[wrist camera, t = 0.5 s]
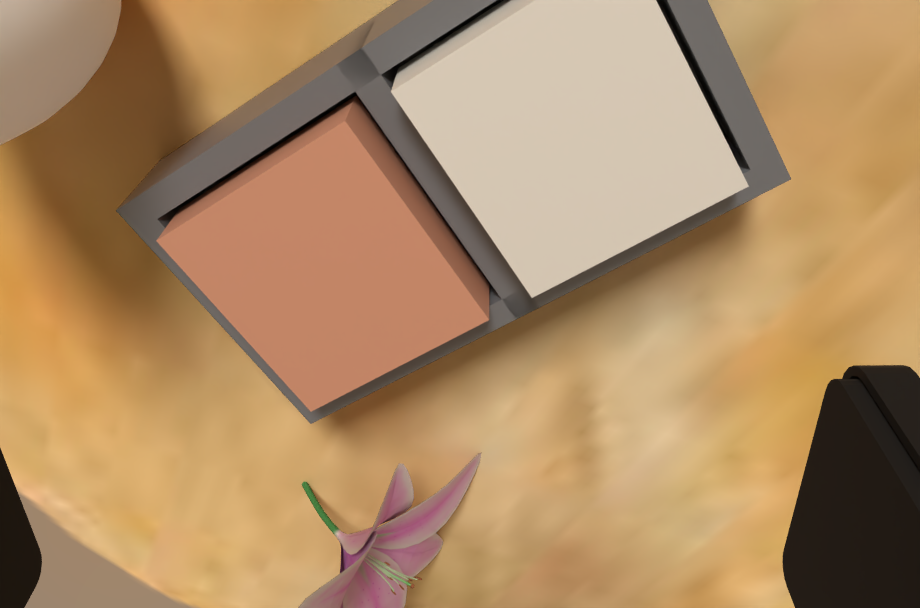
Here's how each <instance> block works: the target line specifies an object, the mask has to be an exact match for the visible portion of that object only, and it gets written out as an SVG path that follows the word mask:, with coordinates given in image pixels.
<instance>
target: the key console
mask: <svg viewBox="0 0 920 608" xmlns="http://www.w3.org/2000/svg"><path fill="white" fill-rule="evenodd" d="M502 1H503V0H398V1H397V2H395V3H394V4H392V5H391V6H389V7H388V8H386V9H385V10H383V11H382V12H380V13H379V14H377V15H376V16H374V17H373V18H372V19H370V20H369V21H367V22H366V23H364V24H363V25H361V26H360V27H358V28H357V29H355V30H354V31H352V32H351V33H349V34H348V35H346V36H345V37H343V38H342V39H340V40H339V41H337V42H336V43H334V44H333V45H331V46H330V47H328V48H327V49H325V50H324V51H322V52H321V53H319V54H318V55H316V56H315V57H313V58H312V59H311V60H309V61H308V62H306V63H305V64H303V65H302V66H300V67H299V68H297V69H296V70H294V71H293V72H291V73H290V74H288V75H287V76H285V77H284V78H282V79H281V80H279V81H278V82H276V83H275V84H273V85H272V86H270V87H269V88H267V89H266V90H264V91H263V92H261V93H260V94H258V95H257V96H255V97H254V98H252V99H251V100H250V101H248V102H247V103H245V104H244V105H242V106H241V107H239V108H238V109H236V110H235V111H233V112H232V113H230V114H229V115H227V116H226V117H224V118H223V119H221V120H220V121H218V122H217V123H215V124H214V125H212V126H211V127H209V128H208V129H206V130H205V131H203V132H202V133H200V134H199V135H197V136H196V137H194V138H193V139H191V140H190V141H189V142H187V143H186V144H184V145H183V146H181V147H180V148H178V149H177V150H175V151H174V152H172V153H171V154H169V155H168V156H166V157H165V158H163V159H162V160H160V161H159V162H158V163H157V164H156V165H155V167H154V168H153V169H152V170H151V171H150V172H149V173H148V174H147V176H146V177H145V178H144V179H143V180H142V181H141V182H140V184H139V185H138V186H137V187H136V188H135V189H134V190H133V192H132V193H131V194H130V195H129V196H128V197H127V198H126V200H125V201H124V202H123V203H122V204H121V205H120V206H119V208H118V209H117V210H116V211H117V212H118V213H119V215H120V216H121V217H122V218H123V219H124V220H125V221H126V222H127V223H128V224H129V225H130V227H131V228H132V229H133V230H134V231H135V232H136V233H137V234H138V235H139V236H140V237H141V239H142V240H143V241H144V242H145V243H146V244H147V245H148V246H149V247H150V248H151V250H152V251H153V252H154V253H155V254H156V255H157V256H158V257H159V258H160V259H161V260H162V262H163V263H164V264H165V265H166V266H167V267H168V268H169V269H170V270H171V271H172V273H173V274H174V275H175V276H176V277H177V278H178V279H179V280H180V281H181V282H182V283H183V285H184V286H185V287H186V288H187V289H188V290H189V291H190V292H191V293H192V294H193V296H194V297H195V298H196V299H197V300H198V301H199V302H200V303H201V304H202V305H203V306H204V308H205V309H206V310H207V311H208V312H209V313H210V314H211V315H212V316H213V317H214V319H215V320H216V321H217V322H218V323H219V324H220V325H221V326H222V327H223V328H224V329H225V331H226V332H227V333H228V334H229V335H230V336H231V337H232V338H233V339H234V340H235V341H236V343H237V344H238V345H239V346H240V347H241V348H242V349H243V350H244V351H245V352H246V354H247V355H248V356H249V357H250V358H251V359H252V360H253V361H254V362H255V363H256V364H257V366H258V367H259V368H260V369H261V370H262V371H263V372H264V373H265V374H266V375H267V377H268V378H269V379H270V380H271V381H272V382H273V383H274V384H275V385H276V386H277V387H278V389H279V390H280V391H281V392H282V393H283V394H284V395H285V396H286V397H287V398H288V400H289V401H290V402H291V403H292V404H293V405H294V406H295V407H296V408H297V409H298V410H299V412H300V413H301V414H302V415H303V416H304V417H305V418H306V419H307V420H308V421H309V423H310V424H312V423H314V422H316V421H318V420H319V419H321V418H323V417H325V416H327V415H329V414H331V413H333V412H335V411H337V410H339V409H341V408H343V407H345V406H347V405H349V404H351V403H353V402H355V401H357V400H359V399H361V398H363V397H365V396H367V395H369V394H371V393H372V392H374V391H376V390H378V389H380V388H382V387H384V386H386V385H388V384H390V383H392V382H394V381H396V380H398V379H400V378H402V377H404V376H406V375H408V374H410V373H412V372H414V371H416V370H418V369H420V368H422V367H424V366H425V365H427V364H429V363H431V362H433V361H435V360H437V359H439V358H441V357H443V356H445V355H447V354H449V353H451V352H453V351H455V350H457V349H459V348H461V347H463V346H465V345H467V344H469V343H471V342H473V341H475V340H477V339H478V338H480V337H482V336H484V335H486V334H488V333H490V332H492V331H494V330H496V329H498V328H500V327H502V326H504V325H506V324H508V323H510V322H512V321H514V320H516V319H518V318H520V317H522V316H524V315H526V314H528V313H530V312H531V311H533V310H535V309H537V308H539V307H541V306H543V305H545V304H547V303H549V302H551V301H553V300H555V299H557V298H559V297H561V296H563V295H565V294H567V293H569V292H571V291H573V290H575V289H577V288H579V287H581V286H583V285H584V284H586V283H588V282H590V281H592V280H594V279H596V278H598V277H600V276H602V275H604V274H606V273H608V272H610V271H612V270H614V269H616V268H618V267H620V266H622V265H624V264H626V263H628V262H630V261H632V260H634V259H636V258H638V257H639V256H641V255H643V254H645V253H647V252H649V251H651V250H653V249H655V248H657V247H659V246H661V245H663V244H665V243H667V242H669V241H671V240H673V239H675V238H677V237H679V236H681V235H683V234H685V233H687V232H689V231H691V230H692V229H694V228H696V227H698V226H700V225H702V224H704V223H706V222H708V221H710V220H712V219H714V218H716V217H718V216H720V215H722V214H724V213H726V212H728V211H730V210H732V209H734V208H736V207H738V206H740V205H742V204H744V203H745V202H747V201H749V200H751V199H753V198H755V197H757V196H759V195H761V194H763V193H765V192H767V191H769V190H771V189H773V188H775V187H777V186H779V185H781V184H783V183H785V182H787V181H789V180H791V177H790V175H789V173H788V171H787V169H786V167H785V165H784V163H783V160H782V158H781V156H780V154H779V152H778V150H777V148H776V145H775V143H774V141H773V139H772V137H771V135H770V133H769V131H768V128H767V126H766V124H765V122H764V120H763V118H762V116H761V113H760V111H759V109H758V107H757V105H756V103H755V101H754V99H753V96H752V94H751V92H750V90H749V88H748V86H747V84H746V81H745V79H744V77H743V75H742V73H741V71H740V69H739V67H738V64H737V62H736V60H735V58H734V56H733V54H732V52H731V49H730V47H729V45H728V43H727V41H726V39H725V37H724V35H723V32H722V30H721V28H720V26H719V24H718V22H717V20H716V17H715V15H714V13H713V11H712V9H711V7H710V5H709V3H708V0H656V1H657V3H658V5H659V7H660V9H661V11H662V13H663V15H664V17H665V19H666V21H667V23H668V25H669V27H670V29H671V31H672V33H673V35H674V37H675V39H676V41H677V43H678V45H679V47H680V49H681V51H682V53H683V55H684V57H685V59H686V61H687V63H688V65H689V67H690V69H691V71H692V73H693V75H694V77H695V79H696V81H697V83H698V85H699V87H700V89H701V91H702V93H703V95H704V97H705V99H706V101H707V103H708V105H709V107H710V109H711V111H712V113H713V115H714V117H715V119H716V121H717V123H718V125H719V127H720V129H721V131H722V133H723V135H724V137H725V139H726V141H727V143H728V145H729V147H730V149H731V151H732V153H733V155H734V158H735V160H736V162H737V164H738V166H739V168H740V170H741V172H742V174H743V176H744V178H745V180H746V182H747V184H748V186H749V187H747V188H745V189H743V190H741V191H739V192H737V193H735V194H733V195H731V196H729V197H727V198H725V199H723V200H721V201H719V202H718V203H716V204H714V205H712V206H710V207H708V208H706V209H704V210H702V211H700V212H698V213H696V214H694V215H692V216H690V217H688V218H686V219H684V220H683V221H681V222H679V223H677V224H675V225H673V226H671V227H669V228H667V229H665V230H663V231H661V232H659V233H657V234H655V235H653V236H651V237H650V238H648V239H646V240H644V241H642V242H640V243H638V244H636V245H634V246H632V247H630V248H628V249H626V250H624V251H622V252H620V253H618V254H616V255H615V256H613V257H611V258H609V259H607V260H605V261H603V262H601V263H599V264H597V265H595V266H593V267H591V268H589V269H587V270H585V271H583V272H582V273H580V274H578V275H576V276H574V277H572V278H570V279H568V280H566V281H564V282H562V283H560V284H558V285H556V286H554V287H552V288H550V289H549V290H547V291H545V292H543V293H541V294H539V295H537V296H535V297H533V298H532V297H531V296H530V294H529V293H528V292H527V290H526V289H525V287H524V286H523V284H522V283H521V281H520V280H519V278H518V277H517V275H516V274H515V273H514V271H513V270H512V268H511V267H510V265H509V264H508V262H507V261H506V259H505V258H504V256H503V255H502V254H501V252H500V251H499V249H498V248H497V246H496V245H495V243H494V242H493V240H492V239H491V237H490V236H489V235H488V233H487V232H486V230H485V229H484V227H483V226H482V224H481V223H480V221H479V220H478V218H477V217H476V216H475V214H474V213H473V211H472V210H471V208H470V207H469V205H468V204H467V202H466V201H465V199H464V198H463V197H462V195H461V194H460V192H459V191H458V189H457V188H456V186H455V185H454V183H453V182H452V180H451V179H450V178H449V176H448V175H447V173H446V172H445V170H444V169H443V167H442V166H441V164H440V163H439V161H438V160H437V159H436V157H435V156H434V154H433V153H432V151H431V150H430V148H429V147H428V145H427V144H426V142H425V141H424V139H423V138H422V137H421V135H420V134H419V132H418V131H417V129H416V128H415V126H414V125H413V123H412V122H411V120H410V119H409V118H408V116H407V115H406V113H405V112H404V110H403V109H402V107H401V106H400V104H399V103H398V101H397V100H396V99H395V97H394V96H393V94H392V93H391V90H392V87H393V83H394V80H395V77H396V74H397V71H398V68H399V67H401V66H402V65H404V64H405V63H407V62H408V61H410V60H412V59H413V58H415V57H416V56H418V55H419V54H421V53H422V52H424V51H426V50H427V49H429V48H430V47H432V46H433V45H435V44H436V43H438V42H440V41H441V40H443V39H444V38H446V37H447V36H449V35H450V34H452V33H454V32H455V31H457V30H458V29H460V28H461V27H463V26H464V25H466V24H468V23H469V22H471V21H472V20H474V19H475V18H477V17H478V16H480V15H482V14H483V13H485V12H486V11H488V10H489V9H491V8H492V7H494V6H496V5H497V4H499V3H500V2H502ZM354 96H357V97H358V99H359V100H360V102H361V103H362V104H363V106H364V107H365V109H366V110H367V111H368V113H369V114H370V116H371V117H372V119H373V120H374V121H375V123H376V124H377V126H378V127H379V128H380V130H381V131H382V133H383V134H384V136H385V137H386V138H387V140H388V141H389V143H390V144H391V145H392V147H393V148H394V150H395V151H396V153H397V154H398V155H399V157H400V158H401V160H402V161H403V162H404V164H405V165H406V167H407V168H408V170H409V171H410V172H411V174H412V175H413V177H414V178H415V179H416V181H417V182H418V184H419V185H420V186H421V188H422V189H423V191H424V192H425V194H426V195H427V196H428V198H429V199H430V201H431V202H432V203H433V205H434V206H435V208H436V209H437V211H438V212H439V213H440V215H441V216H442V218H443V219H444V220H445V222H446V223H447V225H448V226H449V228H450V229H451V230H452V232H453V233H454V235H455V236H456V237H457V239H458V240H459V242H460V243H461V245H462V246H463V247H464V249H465V250H466V252H467V253H468V254H469V256H470V257H471V259H472V260H473V262H474V263H475V264H476V266H477V267H478V269H479V270H480V271H481V273H482V274H483V276H484V277H485V279H486V280H487V281H488V283H489V320H488V321H486V322H484V323H482V324H481V325H479V326H477V327H475V328H473V329H471V330H469V331H467V332H465V333H463V334H461V335H459V336H457V337H455V338H453V339H451V340H449V341H447V342H446V343H444V344H442V345H440V346H438V347H436V348H434V349H432V350H430V351H428V352H426V353H424V354H422V355H420V356H418V357H416V358H414V359H413V360H411V361H409V362H407V363H405V364H403V365H401V366H399V367H397V368H395V369H393V370H391V371H389V372H387V373H385V374H383V375H381V376H380V377H378V378H376V379H374V380H372V381H370V382H368V383H366V384H364V385H362V386H360V387H358V388H356V389H354V390H352V391H350V392H348V393H346V394H345V395H343V396H341V397H339V398H337V399H335V400H333V401H331V402H329V403H327V404H325V405H323V406H321V407H319V408H317V409H315V410H313V411H312V412H311V411H310V410H309V409H308V408H307V407H306V406H305V405H304V404H303V402H302V401H301V400H300V399H299V398H298V397H297V396H296V395H295V394H294V393H293V391H292V390H291V389H290V388H289V387H288V386H287V385H286V384H285V383H284V382H283V380H282V379H281V378H280V377H279V376H278V375H277V374H276V373H275V372H274V370H273V369H272V368H271V367H270V366H269V365H268V364H267V363H266V362H265V361H264V359H263V358H262V357H261V356H260V355H259V354H258V353H257V352H256V351H255V349H254V348H253V347H252V346H251V345H250V344H249V343H248V342H247V341H246V340H245V338H244V337H243V336H242V335H241V334H240V333H239V332H238V331H237V330H236V328H235V327H234V326H233V325H232V324H231V323H230V322H229V321H228V320H227V319H226V317H225V316H224V315H223V314H222V313H221V312H220V311H219V310H218V309H217V307H216V306H215V305H214V304H213V303H212V302H211V301H210V300H209V299H208V298H207V296H206V295H205V294H204V293H203V292H202V291H201V290H200V289H199V288H198V287H197V285H196V284H195V283H194V282H193V281H192V280H191V279H190V278H189V277H188V275H187V274H186V273H185V272H184V271H183V270H182V269H181V268H180V267H179V266H178V264H177V263H176V262H175V261H174V260H173V259H172V258H171V257H170V256H169V254H168V253H167V252H166V251H165V250H164V249H163V248H162V247H161V246H160V245H159V243H158V242H157V241H156V240H157V239H158V238H159V236H160V235H161V233H162V232H163V231H164V229H165V228H166V227H167V225H168V224H169V222H170V221H171V220H172V218H173V217H174V216H175V214H176V213H177V212H178V210H179V209H180V208H181V207H183V206H185V205H186V204H188V203H189V202H191V201H192V200H194V199H195V198H197V197H199V196H200V195H202V194H203V193H205V192H206V191H208V190H209V189H211V188H213V187H214V186H216V185H217V184H219V183H220V182H222V181H223V180H225V179H227V178H228V177H230V176H231V175H233V174H234V173H236V172H237V171H239V170H241V169H242V168H244V167H245V166H247V165H248V164H250V163H251V162H253V161H255V160H256V159H258V158H259V157H261V156H262V155H264V154H265V153H267V152H269V151H270V150H272V149H273V148H275V147H276V146H278V145H279V144H281V143H283V142H284V141H286V140H287V139H289V138H290V137H292V136H293V135H295V134H297V133H298V132H300V131H301V130H303V129H304V128H306V127H307V126H309V125H311V124H312V123H314V122H315V121H317V120H318V119H320V118H321V117H323V116H325V115H326V114H328V113H329V112H331V111H332V110H334V109H335V108H337V107H339V106H340V105H342V104H343V103H345V102H346V101H348V100H349V99H351V98H353V97H354Z"/></svg>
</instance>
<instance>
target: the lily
mask: <svg viewBox="0 0 920 608" xmlns="http://www.w3.org/2000/svg"><path fill="white" fill-rule="evenodd" d="M480 458H481V453H479V454H478V455H477V456H475V457H474V458H473V459H472V460H471V461H470V462H469V463H468V464H467V465H466V467H465V468H464V469H463V470H462V471H461V472H460V473H459V474H458V475H456V476H455V477H454V478H453V479H452V480H451V481H450V482H449V483H448V484H447V485H446V486H444V487H443V488H442V489H441V490H439V491H438V492H437V493H435V494H434V495H433V496H431V497H430V498H428V499H427V500H425V501H424V502H422V503H421V504H419V505H417V506H416V507H414V508H412V509H411V510H409V511H407V510H408V509H409V508H410V507H411V506H412V503H413V500H414V490H413V486H412V481H411V478H410V475H409V473H408V470H407V469H406V467H405V466H404V464H400V463H399V465H398V466H397V468H396V470H395V472H394V475H393V477H392V480H391V483H390V485H389V488H388V491H387V493H386V496H385V498H384V501H383V503H382V506H381V508H380V511H379V513H378V516H377V518H376V521H375V523H374V525H373V527H371V528H368V529H365V530H362V531H359V532H356V533H352V534H346V533H344V532H342V531H341V530H340V529H339V528H338V527H337V526H336V525H335V524H334V523H333V522H332V521H331V520H330V518H329V517H328V516H327V514H326V513H325V512H324V510H323V509H322V507H321V505H320V504H319V502H318V500H317V499H316V497H315V495H314V493H313V492H312V490H311V488H310V486H309V484H308V483H307V482H303V483H302V486H303V488H304V490H305V492H306V494H307V496H308V497H309V499H310V501H311V503H312V504H313V506H314V508H315V509H316V511H317V513H318V514H319V516H320V517H321V518H322V520H323V521H324V522H325V524H326V525H327V526H328V528H329V529H330V530H331V531H332V532H333V534H334V535H335V536H336V537H337V539H338V540H339V542H340V544H341V569H340V574H339V575H338V576H336V577H335V578H333V579H332V580H331V581H329V582H328V583H326V584H325V585H323V586H322V587H321V588H319V589H318V590H317V591H315V592H314V593H313V594H311V595H310V596H309V597H308V598H306V599H305V600H304V601H303V603H302V604H301V605H300V606H299V607H298V608H404V607H405V604H406V595H407V585H409V586H410V587H411V588H414V584H410V583H408V582H407V581H409V580H410V581H412V579H415V580H422V579H421V578H418V577H415V578H413V577H414V576H416V575H417V574H418V573H419V572H420V571H421V570H423V569H424V568H425V567H426V566H427V565H428V564H429V563H430V562H431V561H432V560H433V559H434V558H435V556H436V555H437V554H438V553H439V551H440V549H441V547H442V545H443V540H442V539H441V537H440V536H439V535H437V534H436V532H437V531H438V530H439V529H440V528H441V527H442V526H443V525H444V524H445V523H446V522H447V521H448V520H449V518H450V517H451V515H452V514H453V513H454V511H455V510H456V508H457V507H458V505H459V503H460V501H461V500H462V498H463V496H464V494H465V493H466V491H467V489H468V487H469V485H470V483H471V481H472V478H473V476H474V474H475V472H476V470H477V467H478V465H479V462H480ZM406 511H407V512H406ZM405 512H406V513H405ZM403 513H404V514H403ZM398 516H399V517H398ZM396 517H397V518H396ZM392 519H393V520H392ZM390 520H391V521H390ZM387 521H390V522H388V523H386V524H384V525H382V526H380V527H378V526H379V525H380V524H382V523H385V522H387ZM377 527H378V528H377ZM406 584H407V585H406Z"/></svg>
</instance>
